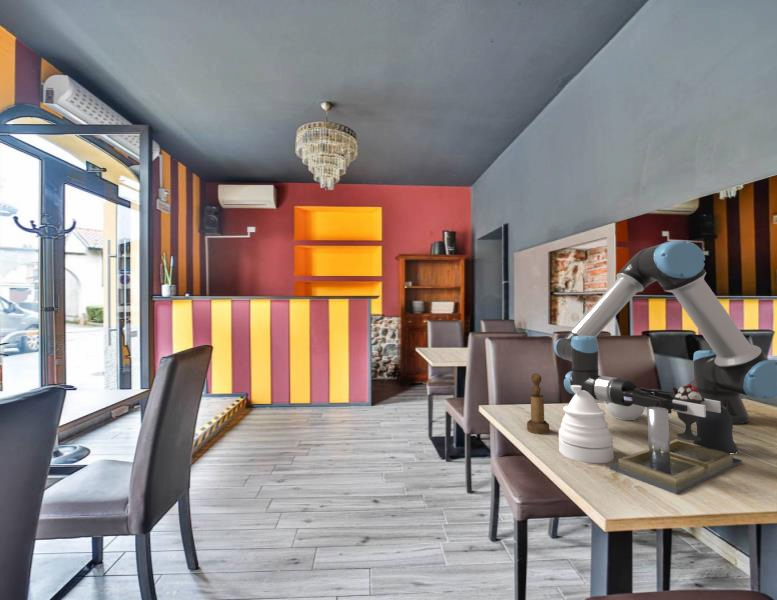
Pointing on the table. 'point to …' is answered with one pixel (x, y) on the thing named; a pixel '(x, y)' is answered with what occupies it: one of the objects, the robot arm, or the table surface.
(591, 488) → the table surface
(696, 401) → the sundae
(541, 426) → the brown pedestal figurine
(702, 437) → the mug
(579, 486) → the table surface
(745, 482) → the table surface
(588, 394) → the honey pot
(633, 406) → the lidded bowl
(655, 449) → the olive compartment tray
